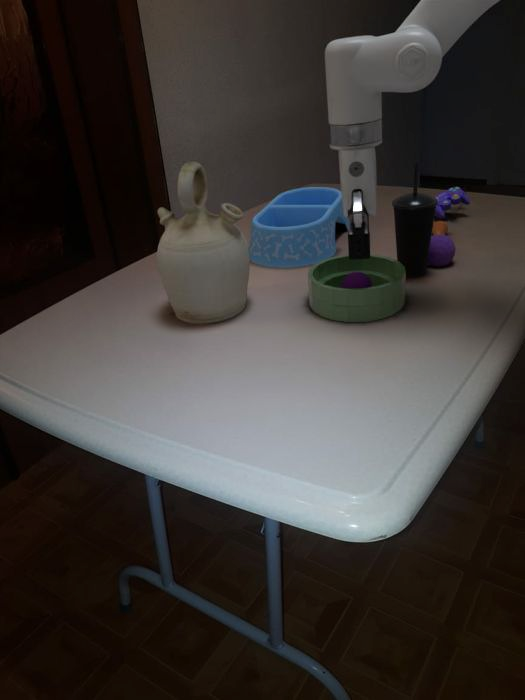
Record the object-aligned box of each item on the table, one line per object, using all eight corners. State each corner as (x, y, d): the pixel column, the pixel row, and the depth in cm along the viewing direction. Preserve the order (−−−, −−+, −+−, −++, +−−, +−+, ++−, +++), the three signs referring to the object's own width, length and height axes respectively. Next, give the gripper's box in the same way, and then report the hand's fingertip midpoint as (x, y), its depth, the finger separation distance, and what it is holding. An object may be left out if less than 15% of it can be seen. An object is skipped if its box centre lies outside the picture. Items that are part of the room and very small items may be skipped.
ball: (370, 296, 95) (373, 268, 93) (370, 307, 91) (374, 278, 88) (340, 294, 96) (343, 266, 94) (340, 305, 91) (342, 276, 89)
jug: (271, 298, 99) (257, 152, 86) (220, 337, 88) (196, 175, 75) (203, 287, 106) (182, 150, 94) (148, 321, 95) (116, 172, 83)
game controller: (444, 210, 121) (416, 192, 128) (446, 239, 127) (419, 221, 134) (482, 189, 122) (452, 172, 129) (482, 219, 128) (453, 202, 135)
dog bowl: (324, 272, 107) (323, 230, 103) (234, 268, 113) (229, 228, 109) (358, 219, 134) (358, 184, 130) (284, 218, 141) (281, 184, 136)
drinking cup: (406, 286, 98) (410, 170, 88) (382, 272, 104) (383, 162, 94) (442, 276, 100) (450, 162, 90) (416, 264, 106) (421, 155, 96)
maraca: (457, 217, 116) (459, 242, 99) (450, 245, 119) (450, 274, 101) (428, 212, 117) (425, 236, 100) (422, 239, 120) (417, 267, 103)
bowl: (400, 284, 99) (401, 252, 96) (407, 324, 86) (409, 289, 83) (313, 286, 102) (311, 255, 99) (306, 326, 88) (304, 291, 85)
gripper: (384, 142, 72) (386, 266, 80) (379, 122, 87) (381, 229, 95) (326, 148, 74) (333, 269, 82) (331, 127, 88) (337, 232, 97)
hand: (359, 247), depth 89 cm, fingers open, 9 cm apart
